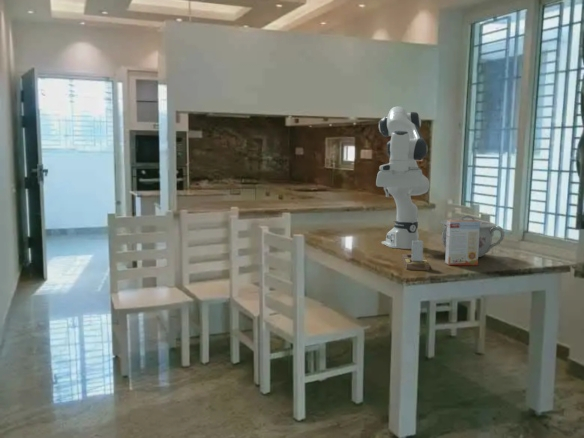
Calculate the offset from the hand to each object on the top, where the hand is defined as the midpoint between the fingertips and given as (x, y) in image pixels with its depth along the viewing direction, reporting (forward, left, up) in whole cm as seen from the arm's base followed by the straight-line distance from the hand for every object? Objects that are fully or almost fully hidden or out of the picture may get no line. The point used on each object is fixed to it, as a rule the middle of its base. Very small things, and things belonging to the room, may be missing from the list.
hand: (397, 197), depth 265 cm
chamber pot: (-5, +47, -32) cm, 57 cm away
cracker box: (+11, +30, -32) cm, 45 cm away
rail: (+3, +9, -31) cm, 33 cm away
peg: (+9, +6, -31) cm, 33 cm away
